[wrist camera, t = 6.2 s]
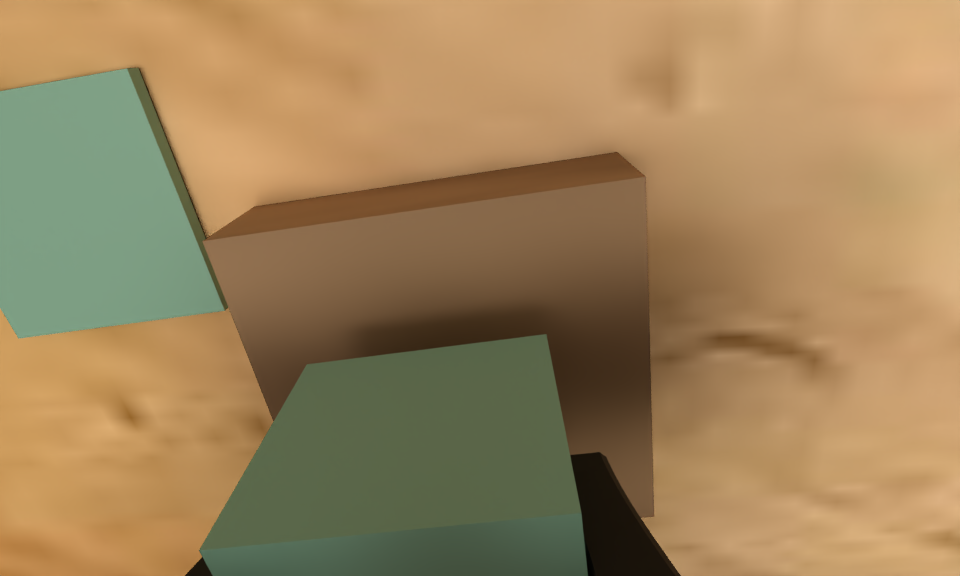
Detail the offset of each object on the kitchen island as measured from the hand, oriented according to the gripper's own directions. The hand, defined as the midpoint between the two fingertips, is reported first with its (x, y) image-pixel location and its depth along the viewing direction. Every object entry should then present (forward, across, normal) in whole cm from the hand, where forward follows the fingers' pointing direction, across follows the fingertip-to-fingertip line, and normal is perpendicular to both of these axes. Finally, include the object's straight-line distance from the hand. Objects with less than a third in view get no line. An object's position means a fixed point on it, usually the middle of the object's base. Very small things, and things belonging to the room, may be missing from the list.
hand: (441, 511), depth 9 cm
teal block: (+2, 0, 0) cm, 2 cm away
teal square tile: (+6, +9, -5) cm, 12 cm away
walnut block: (+6, 0, 0) cm, 6 cm away
